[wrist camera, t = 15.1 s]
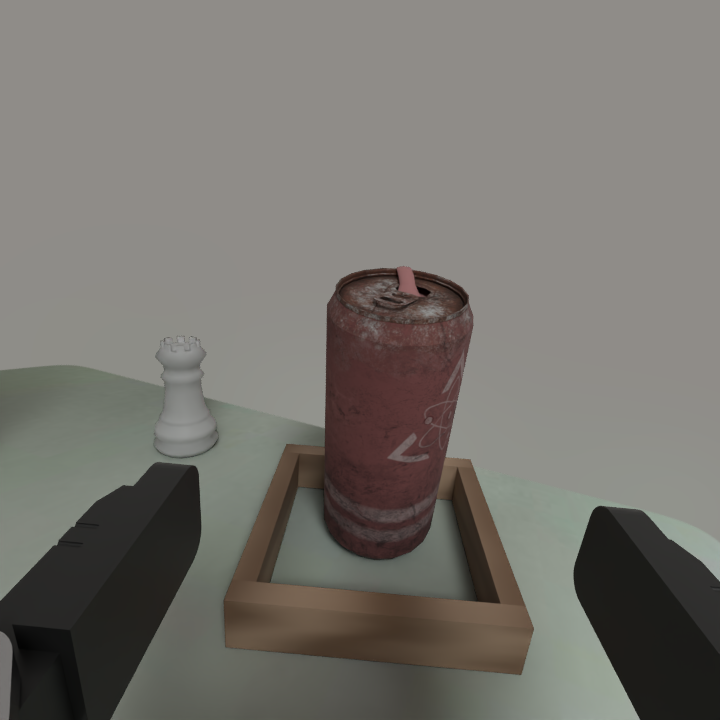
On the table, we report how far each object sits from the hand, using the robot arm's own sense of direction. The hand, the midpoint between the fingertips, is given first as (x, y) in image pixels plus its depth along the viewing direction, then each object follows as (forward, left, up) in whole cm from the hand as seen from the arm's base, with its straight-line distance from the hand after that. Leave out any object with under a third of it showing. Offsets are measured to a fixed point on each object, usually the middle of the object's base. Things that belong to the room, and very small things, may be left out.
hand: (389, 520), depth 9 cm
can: (+1, +13, -11) cm, 17 cm away
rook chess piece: (-13, +20, -11) cm, 27 cm away
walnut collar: (+1, +11, -11) cm, 16 cm away
